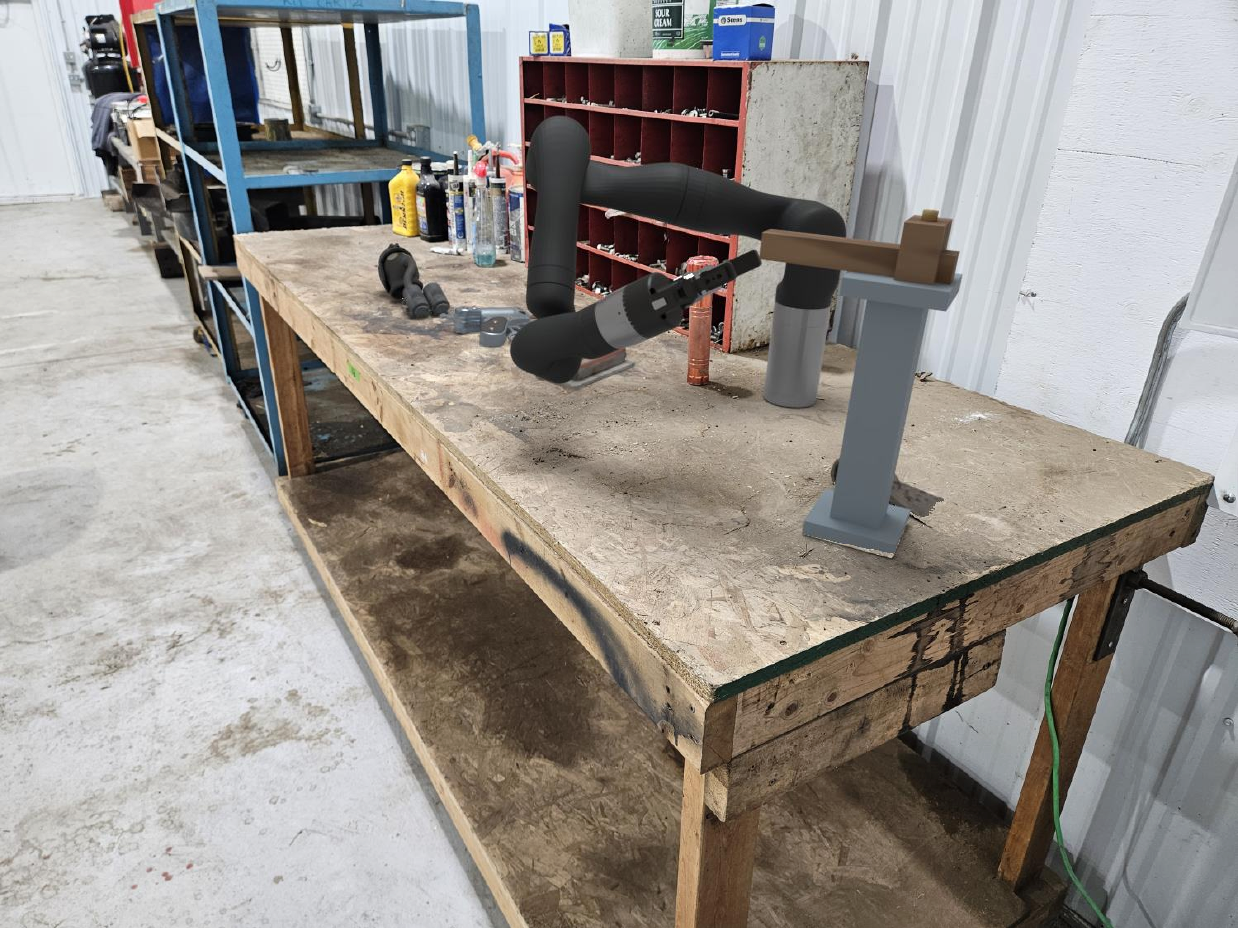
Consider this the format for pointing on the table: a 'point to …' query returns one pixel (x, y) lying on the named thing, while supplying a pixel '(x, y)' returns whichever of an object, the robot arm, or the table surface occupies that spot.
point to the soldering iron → (489, 322)
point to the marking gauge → (873, 251)
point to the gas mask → (410, 284)
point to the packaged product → (598, 369)
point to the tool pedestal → (877, 411)
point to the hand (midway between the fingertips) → (746, 263)
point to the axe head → (905, 495)
